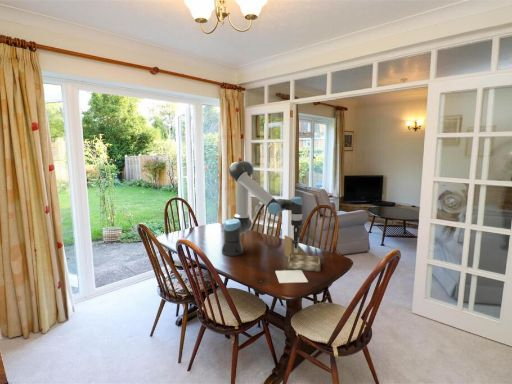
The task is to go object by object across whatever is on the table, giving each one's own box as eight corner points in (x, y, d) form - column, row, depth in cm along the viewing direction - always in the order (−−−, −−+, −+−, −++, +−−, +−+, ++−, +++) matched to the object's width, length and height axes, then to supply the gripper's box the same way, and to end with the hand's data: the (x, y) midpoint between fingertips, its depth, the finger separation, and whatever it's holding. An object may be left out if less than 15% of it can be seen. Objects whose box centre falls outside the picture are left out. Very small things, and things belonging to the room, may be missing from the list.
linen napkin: (279, 284, 161) (279, 282, 161) (275, 272, 177) (275, 270, 177) (307, 283, 163) (308, 281, 163) (301, 271, 179) (301, 269, 178)
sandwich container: (309, 256, 204) (309, 235, 202) (291, 259, 197) (291, 238, 195) (301, 252, 211) (302, 232, 209) (284, 255, 204) (284, 234, 202)
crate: (287, 269, 181) (287, 261, 180) (289, 260, 195) (289, 253, 194) (320, 271, 177) (320, 264, 176) (319, 262, 192) (319, 255, 191)
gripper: (301, 224, 187) (301, 255, 190) (302, 215, 212) (302, 244, 214) (289, 223, 189) (289, 255, 191) (292, 215, 213) (292, 243, 216)
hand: (296, 249), depth 203 cm, fingers open, 13 cm apart
